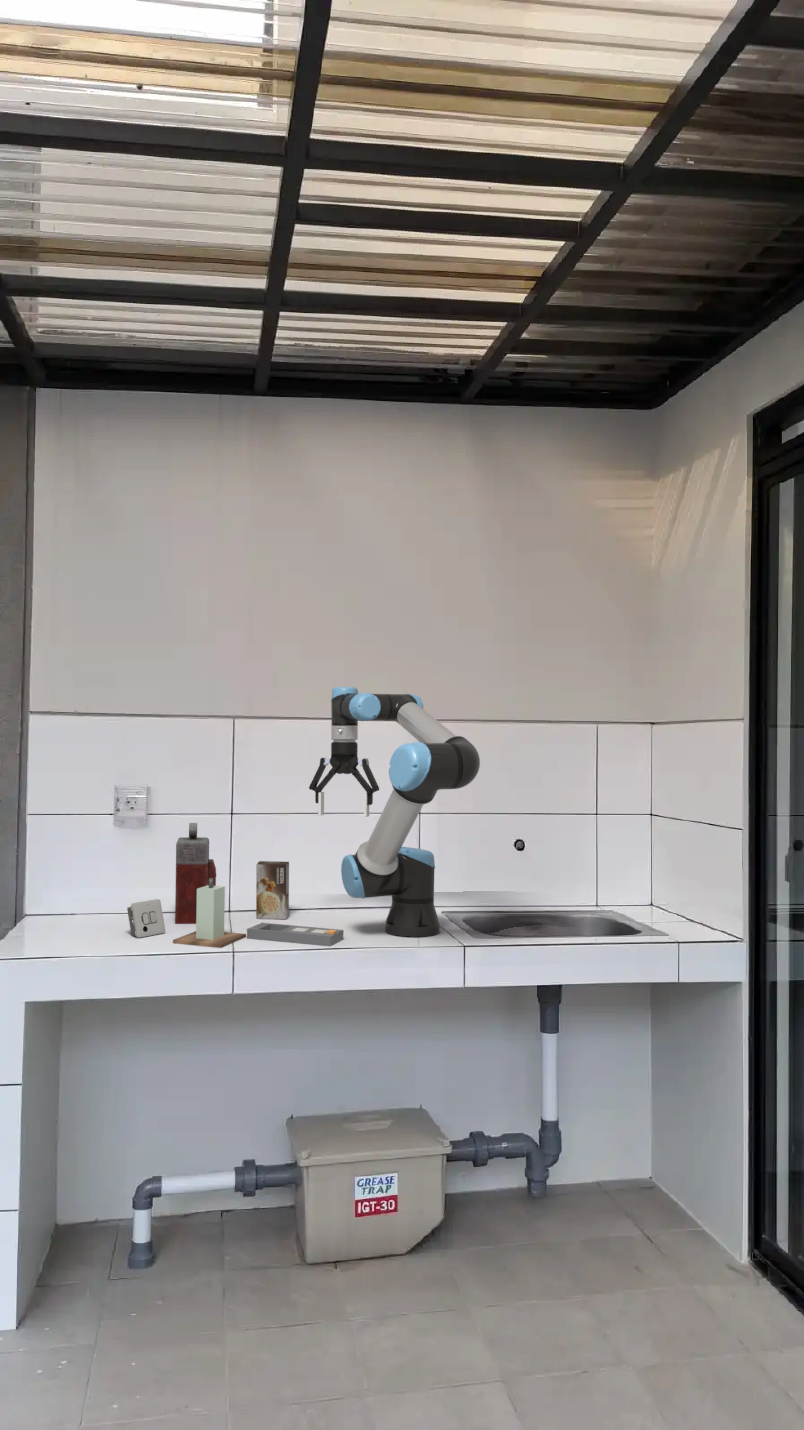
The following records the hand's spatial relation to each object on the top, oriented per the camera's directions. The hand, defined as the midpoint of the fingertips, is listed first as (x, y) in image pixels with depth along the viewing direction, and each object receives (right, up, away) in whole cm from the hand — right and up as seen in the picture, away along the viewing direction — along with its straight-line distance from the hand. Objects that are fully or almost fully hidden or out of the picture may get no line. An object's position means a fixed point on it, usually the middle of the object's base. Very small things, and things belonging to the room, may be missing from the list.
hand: (343, 815), depth 311 cm
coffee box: (-21, -31, +9) cm, 38 cm away
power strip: (-12, -31, -20) cm, 39 cm away
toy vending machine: (-42, -30, +2) cm, 52 cm away
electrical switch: (-52, -31, -18) cm, 63 cm away
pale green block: (-34, -30, -23) cm, 51 cm away
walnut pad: (-34, -31, -23) cm, 51 cm away
